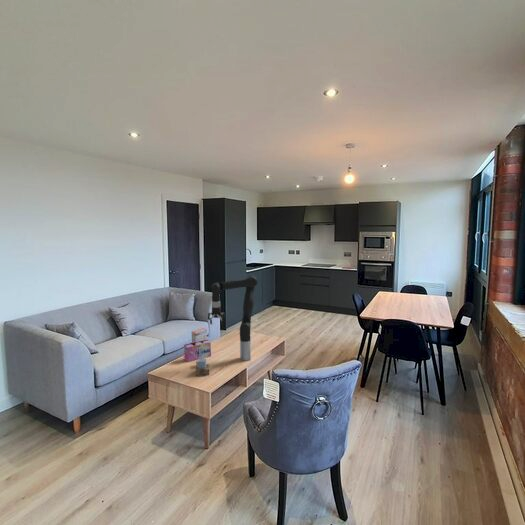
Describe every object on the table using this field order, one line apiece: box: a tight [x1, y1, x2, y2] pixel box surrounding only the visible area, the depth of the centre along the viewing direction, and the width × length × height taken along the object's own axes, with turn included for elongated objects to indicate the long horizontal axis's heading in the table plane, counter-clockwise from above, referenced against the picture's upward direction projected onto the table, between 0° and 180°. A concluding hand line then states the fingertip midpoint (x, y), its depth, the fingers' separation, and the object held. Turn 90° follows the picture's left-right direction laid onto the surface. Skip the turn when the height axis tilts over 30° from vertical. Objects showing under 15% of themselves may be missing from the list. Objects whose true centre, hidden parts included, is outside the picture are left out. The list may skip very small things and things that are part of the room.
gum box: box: [183, 339, 212, 363], centre depth 287 cm, size 24×8×14 cm, turn 125°
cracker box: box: [191, 327, 208, 343], centre depth 301 cm, size 14×6×21 cm, turn 142°
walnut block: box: [195, 363, 210, 377], centre depth 258 cm, size 10×10×5 cm
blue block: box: [198, 358, 207, 369], centre depth 257 cm, size 5×5×6 cm
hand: (216, 324), depth 277 cm, fingers open, 8 cm apart
